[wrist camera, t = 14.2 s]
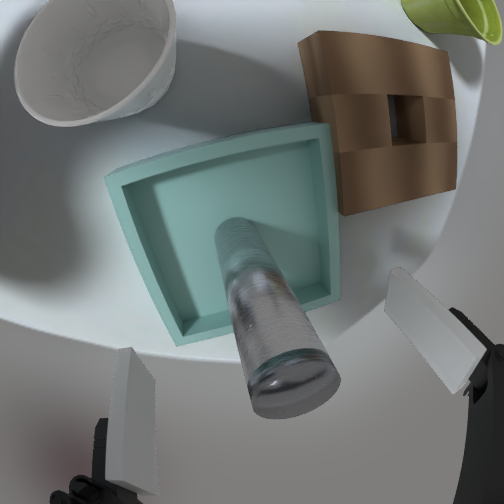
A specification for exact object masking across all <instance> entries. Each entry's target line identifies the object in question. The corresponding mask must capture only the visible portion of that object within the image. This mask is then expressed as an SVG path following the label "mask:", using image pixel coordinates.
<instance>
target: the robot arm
mask: <svg viewBox="0 0 504 504" xmlns="http://www.w3.org/2000/svg"><path fill="white" fill-rule="evenodd" d="M384 311H385V312H386V313H387V315H388V316H389V317H390V318H391V319H392V320H393V321H394V323H395V324H396V325H397V326H398V327H399V328H400V330H401V331H402V332H403V333H404V334H405V335H406V337H407V338H408V339H409V340H410V341H411V343H412V344H413V345H414V346H415V347H416V349H417V350H418V351H419V352H420V354H421V355H422V356H423V357H424V358H425V360H426V361H427V362H428V363H429V365H430V366H431V367H432V368H433V370H434V371H435V372H436V373H437V375H438V376H439V377H440V379H441V380H442V381H443V382H444V384H445V385H446V386H447V388H448V389H449V390H450V392H451V393H452V394H454V393H456V392H457V391H458V390H459V389H461V388H462V387H463V386H464V385H465V383H466V382H467V380H468V379H469V380H470V382H471V383H470V384H469V386H468V387H467V388H466V390H465V391H464V394H463V396H465V395H466V394H467V392H468V391H469V394H468V396H469V409H468V424H467V434H466V443H465V450H464V457H463V463H462V468H461V473H460V477H459V482H458V486H457V490H456V495H455V498H454V502H453V504H504V345H503V344H497V345H494V344H493V343H492V342H491V341H490V340H489V339H488V338H487V337H486V336H485V335H484V334H483V333H482V332H481V331H480V330H479V329H478V328H477V327H476V326H475V325H473V323H472V322H471V321H470V320H468V318H467V317H466V316H465V315H464V314H463V313H462V312H461V311H459V310H456V309H455V308H453V307H452V308H450V309H449V310H448V309H447V308H445V306H444V305H443V304H442V303H440V302H439V301H438V300H437V299H436V298H435V297H434V296H433V295H432V294H431V293H429V291H427V290H426V289H425V288H424V287H423V286H422V285H421V284H420V283H419V282H417V281H416V280H415V279H414V278H413V277H412V276H411V275H409V274H408V273H407V272H406V271H405V270H404V269H402V268H401V267H399V268H397V269H394V270H392V271H390V272H389V281H388V288H387V295H386V302H385V308H384ZM155 432H156V431H155V379H154V378H153V376H152V375H151V374H150V372H149V371H148V370H147V368H146V367H145V365H144V364H143V363H142V361H141V360H140V359H139V357H138V355H137V354H136V352H135V351H134V350H133V348H132V347H128V348H123V349H118V353H117V359H116V365H115V371H114V378H113V384H112V392H111V400H110V408H109V418H100V419H99V421H98V423H97V425H96V428H95V436H94V439H95V441H94V446H93V447H94V449H93V460H92V478H89V477H87V476H85V475H78V476H75V477H74V478H73V479H72V480H71V482H70V485H69V492H70V493H69V494H67V493H65V492H63V491H60V490H58V491H54V492H53V493H52V494H51V496H50V504H142V503H141V502H140V501H139V500H138V499H137V494H139V495H142V496H160V493H159V482H158V470H157V455H156V433H155Z"/></svg>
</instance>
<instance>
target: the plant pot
mask: <svg viewBox="0 0 504 504" xmlns="http://www.w3.org/2000/svg"><path fill="white" fill-rule="evenodd" d="M401 3H402V6H403V8H404V10H405V12H406V14H407V15H408V17H409V18H410V19H411V21H412V22H413V23H414V24H415V25H417V26H419V27H420V28H422V29H423V30H424V31H425V32H427V33H443V34H457V35H466V36H473V37H475V38H478V39H481V40H484V41H485V42H487V43H489V44H491V45H497V44H499V43H500V42H501V40H502V35H503V31H502V23H501V19H500V15H499V13H498V10H497V7H496V4H495V2H494V0H401Z"/></svg>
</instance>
